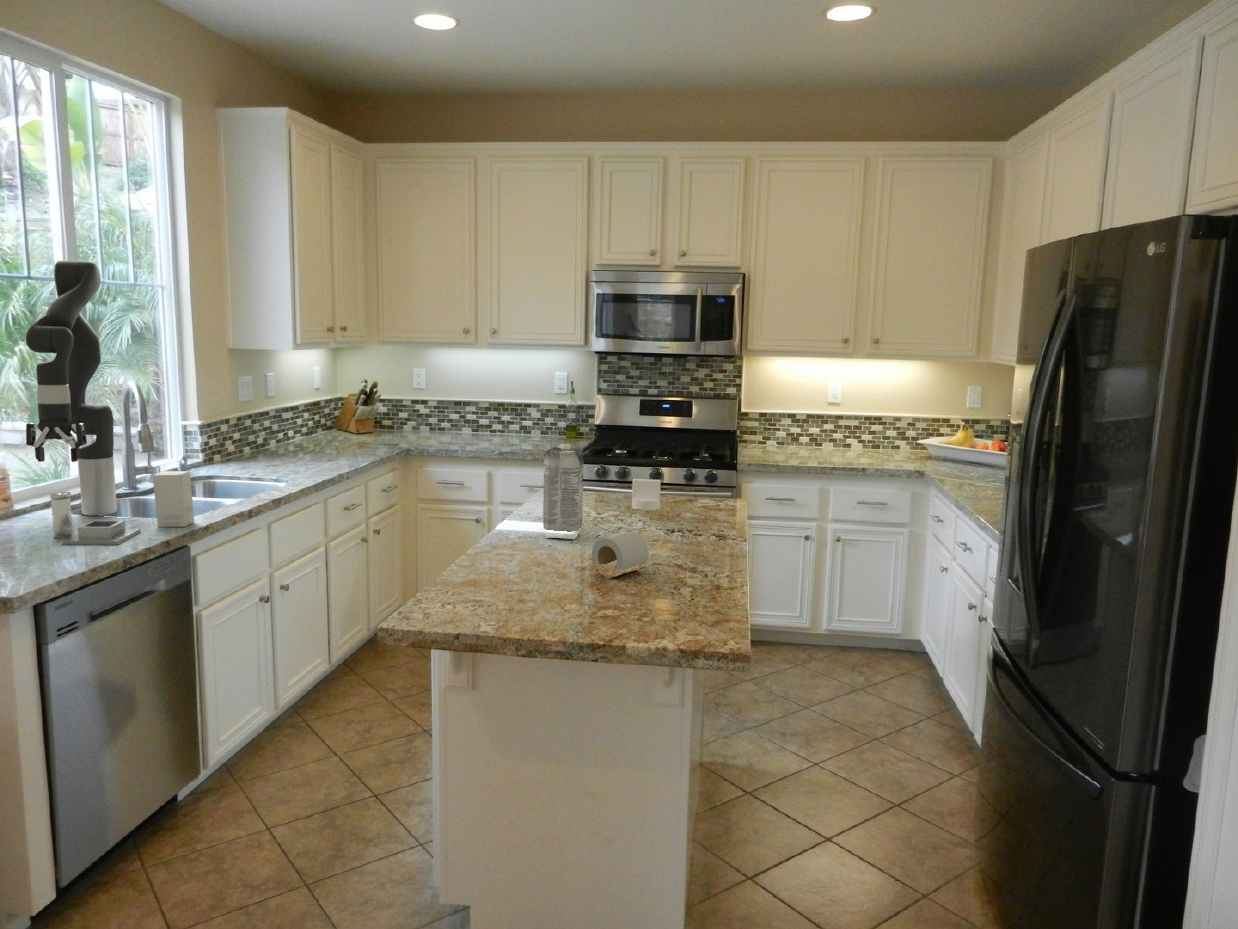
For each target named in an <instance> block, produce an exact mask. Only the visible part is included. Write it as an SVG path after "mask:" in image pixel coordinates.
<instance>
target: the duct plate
mask: <svg viewBox="0 0 1238 929" xmlns="http://www.w3.org/2000/svg"><path fill="white" fill-rule="evenodd" d="M139 534H141V528H126V520H100V519H99V520H98V519H97V520H95V519H94V520H90V521H88V522H86V523H84V524H82V525H80V526H78V527H77V533H75V534H73V536H71V537H69V538H64V539H63V540H62V541H61V544H62V546H63V545H65V546H69V545H71V546H75V545H77V546H78V545H79V546H81V545H83V546H85V545H86V546H88V545H89V546H90V545H91V546H93V545H94V546H95V545H97V546H98V545H101V546H105V545H107V546H109V545H110V546H113V545H114V546H115V545H120V544H122V543H124V542H126V541H127V540H129V539H132V538H133V537H135V536H137V535H139Z"/></svg>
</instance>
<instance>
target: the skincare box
mask: <svg viewBox="0 0 1238 929" xmlns="http://www.w3.org/2000/svg"><path fill="white" fill-rule="evenodd" d="M152 481H153V491H154V492H153V493H154V502H155V513H156V523H157V527H158V528H169V527H170V528H180V527H181V528H185V527H188V526H190V525H191V524H193V523H194V522H195V515H194V503H193V494H192V493H193V492H192V479H191V471H190V470H189V471H188V470H187V471H186V470H185V471H184V470H183V471H180V470H178V471H176V470H175V471H174V470H173V471H171V470H170V471H169V470H168V471H167V470H164V471H163V470H162V471H160V472H157V473H155V474H153V475H152Z"/></svg>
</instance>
